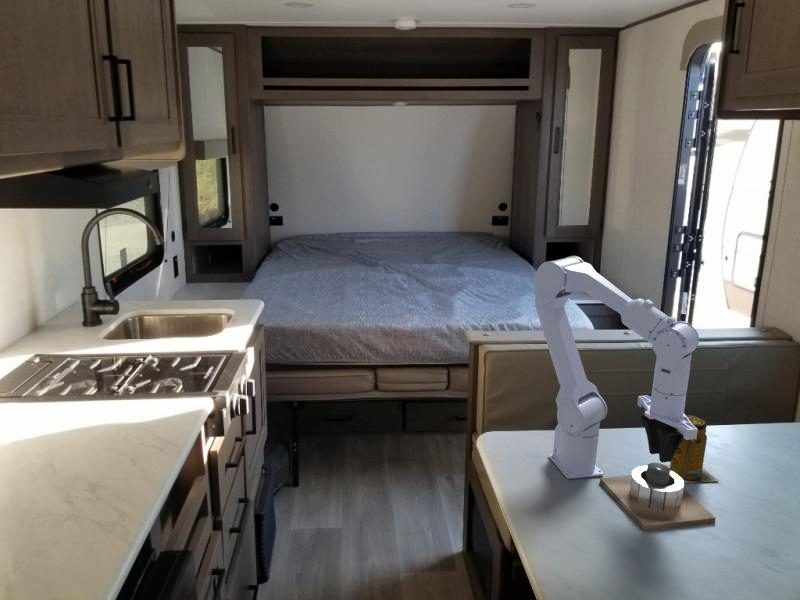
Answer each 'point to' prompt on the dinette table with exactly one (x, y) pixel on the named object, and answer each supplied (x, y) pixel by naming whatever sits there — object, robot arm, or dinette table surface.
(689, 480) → the condiment
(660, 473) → the dark rounded capsule
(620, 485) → the walnut board
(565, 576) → the dinette table surface
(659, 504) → the white faceted ring
